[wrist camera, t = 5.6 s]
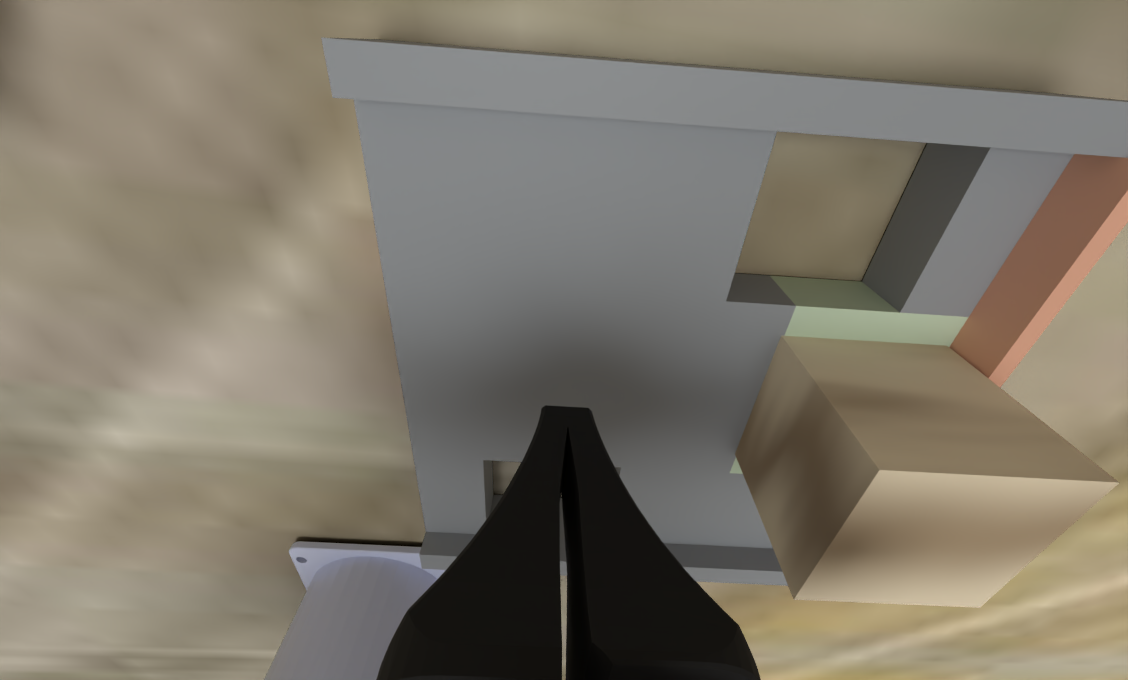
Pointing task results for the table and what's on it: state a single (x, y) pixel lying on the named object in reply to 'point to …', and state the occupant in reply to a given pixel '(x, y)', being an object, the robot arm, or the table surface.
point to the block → (904, 474)
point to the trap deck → (684, 257)
